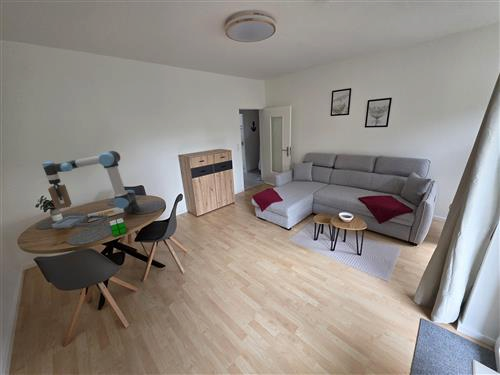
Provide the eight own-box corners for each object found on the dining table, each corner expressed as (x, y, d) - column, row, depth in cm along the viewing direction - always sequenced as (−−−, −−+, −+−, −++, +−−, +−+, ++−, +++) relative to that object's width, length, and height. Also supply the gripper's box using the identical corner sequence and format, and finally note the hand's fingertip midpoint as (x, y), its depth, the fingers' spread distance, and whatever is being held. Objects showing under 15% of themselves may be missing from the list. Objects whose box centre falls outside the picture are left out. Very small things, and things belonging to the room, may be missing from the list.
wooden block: (70, 206, 184) (62, 186, 178) (55, 209, 179) (47, 188, 173) (71, 203, 192) (64, 184, 186) (58, 206, 187) (50, 186, 181)
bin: (86, 218, 199) (85, 215, 198) (71, 227, 182) (69, 224, 181) (69, 219, 200) (68, 216, 199) (52, 228, 183) (51, 224, 182)
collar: (108, 217, 200) (108, 214, 199) (95, 225, 183) (94, 223, 182) (91, 217, 201) (90, 215, 200) (76, 226, 184) (75, 224, 183)
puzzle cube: (125, 227, 176) (122, 217, 173) (127, 232, 168) (124, 221, 165) (112, 232, 170) (108, 221, 167) (113, 236, 163) (110, 225, 160)
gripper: (48, 177, 183) (56, 200, 190) (47, 182, 167) (57, 206, 174) (59, 176, 188) (67, 197, 195) (59, 180, 172) (68, 203, 178)
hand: (62, 201), depth 184 cm, fingers closed on wooden block, 11 cm apart
